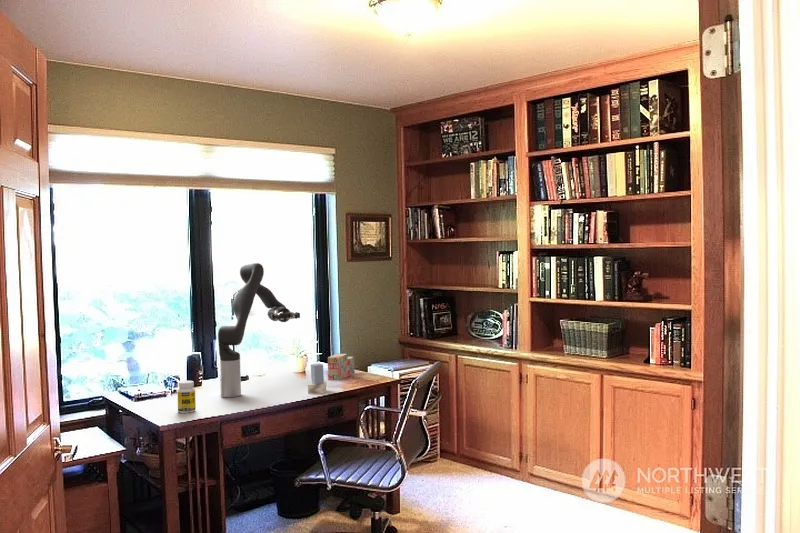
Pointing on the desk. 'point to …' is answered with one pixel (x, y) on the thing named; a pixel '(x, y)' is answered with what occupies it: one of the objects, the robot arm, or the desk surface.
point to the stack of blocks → (340, 366)
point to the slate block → (317, 374)
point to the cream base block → (316, 388)
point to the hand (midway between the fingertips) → (288, 317)
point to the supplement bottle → (186, 397)
